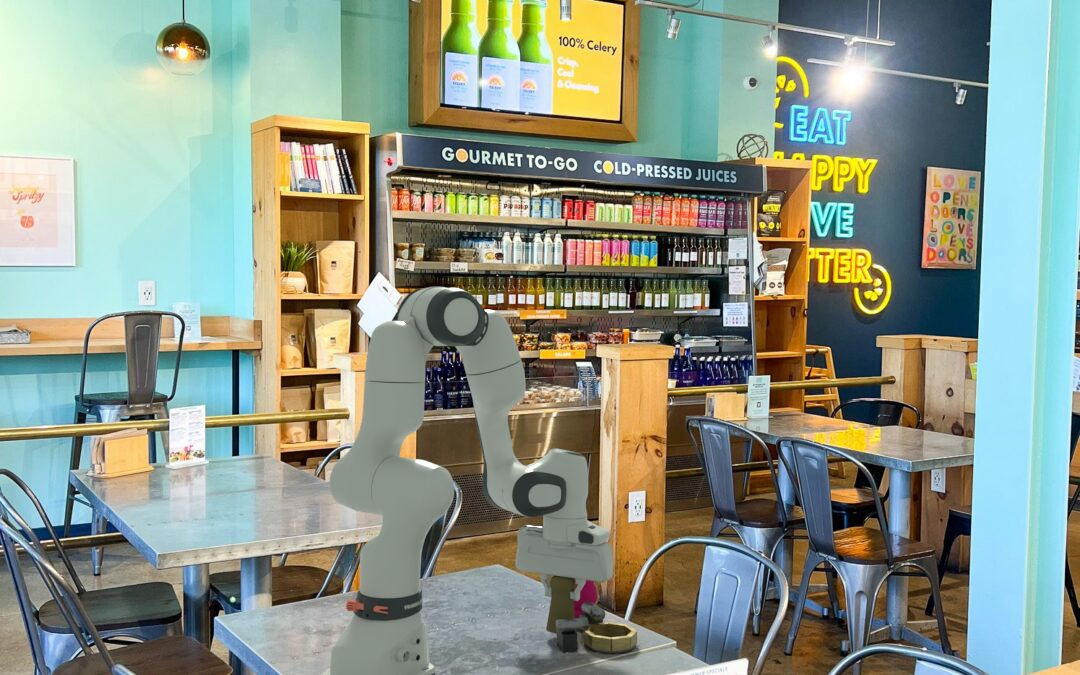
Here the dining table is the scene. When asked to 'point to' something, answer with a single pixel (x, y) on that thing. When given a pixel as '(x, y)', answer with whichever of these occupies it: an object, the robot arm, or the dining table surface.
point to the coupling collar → (610, 638)
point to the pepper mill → (585, 596)
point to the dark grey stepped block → (570, 633)
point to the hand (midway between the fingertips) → (562, 598)
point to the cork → (560, 601)
